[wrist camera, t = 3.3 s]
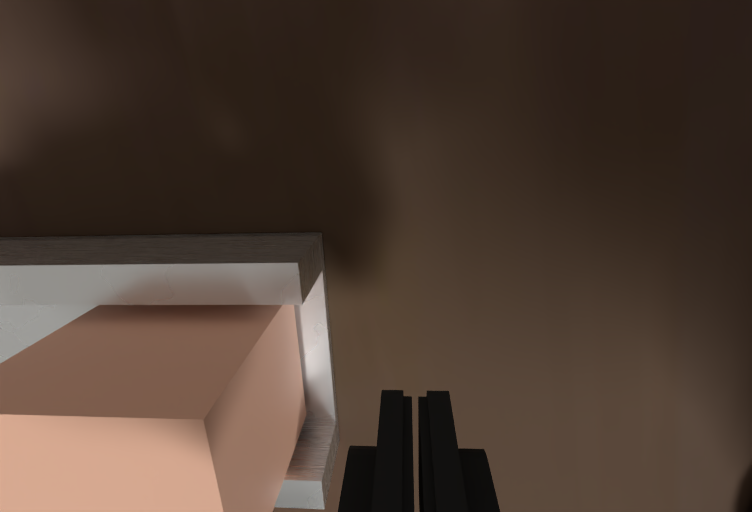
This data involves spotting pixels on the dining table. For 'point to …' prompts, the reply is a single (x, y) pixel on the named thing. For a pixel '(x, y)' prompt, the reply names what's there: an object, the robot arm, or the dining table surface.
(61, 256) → the chute
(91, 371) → the block
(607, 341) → the dining table surface
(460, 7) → the dining table surface
